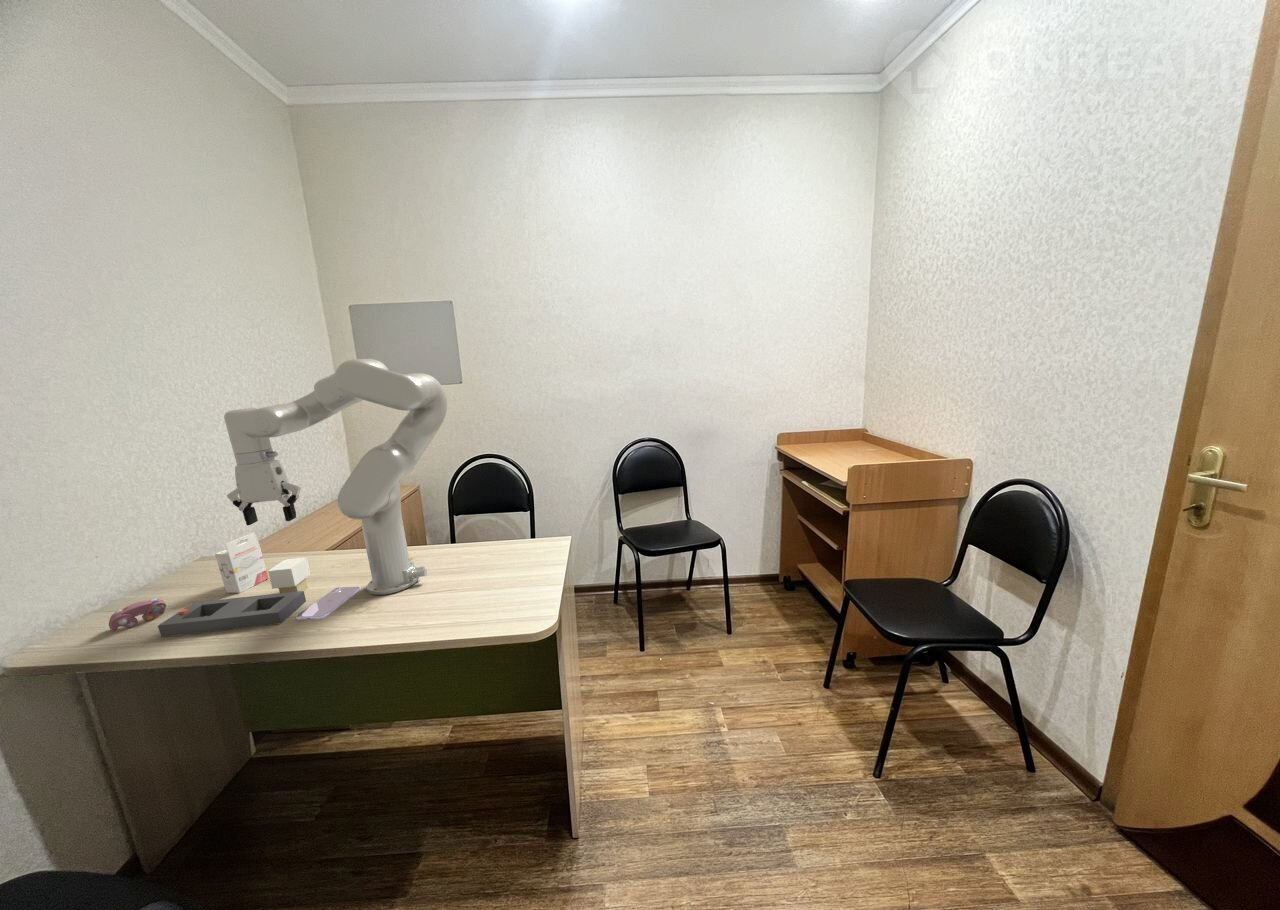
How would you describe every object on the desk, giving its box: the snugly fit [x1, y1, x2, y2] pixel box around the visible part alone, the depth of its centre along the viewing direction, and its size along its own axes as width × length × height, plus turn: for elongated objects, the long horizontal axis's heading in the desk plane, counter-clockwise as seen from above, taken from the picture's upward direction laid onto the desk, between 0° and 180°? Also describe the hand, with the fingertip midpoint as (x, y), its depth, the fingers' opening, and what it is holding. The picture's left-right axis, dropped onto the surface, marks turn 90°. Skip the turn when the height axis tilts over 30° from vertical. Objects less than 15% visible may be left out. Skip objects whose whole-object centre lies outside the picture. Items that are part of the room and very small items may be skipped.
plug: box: [267, 556, 311, 593], centre depth 125 cm, size 6×7×8 cm
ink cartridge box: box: [214, 532, 269, 594], centre depth 131 cm, size 9×5×15 cm, turn 168°
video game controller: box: [108, 597, 167, 632], centre depth 115 cm, size 10×5×7 cm, turn 148°
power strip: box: [157, 591, 307, 638], centre depth 115 cm, size 26×10×4 cm, turn 97°
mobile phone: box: [295, 586, 362, 620], centre depth 120 cm, size 8×1×15 cm
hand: (272, 521), depth 122 cm, fingers open, 9 cm apart
